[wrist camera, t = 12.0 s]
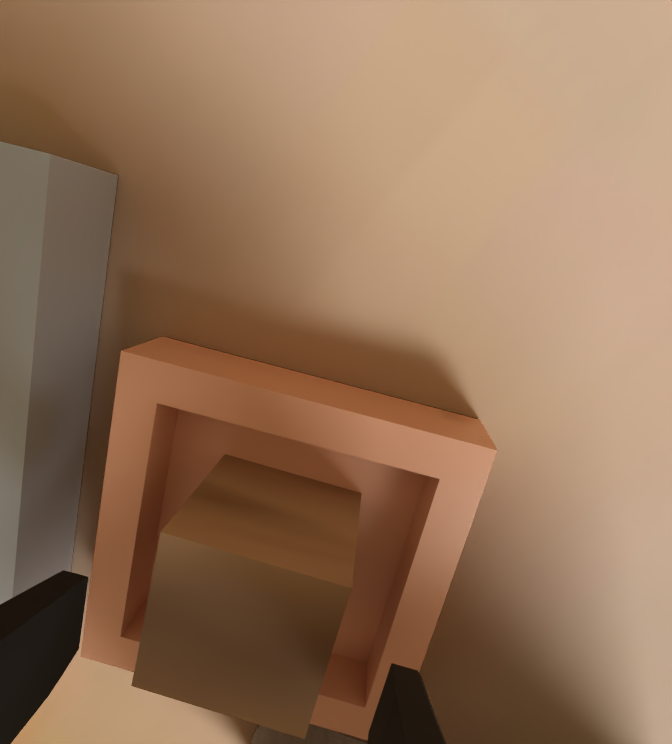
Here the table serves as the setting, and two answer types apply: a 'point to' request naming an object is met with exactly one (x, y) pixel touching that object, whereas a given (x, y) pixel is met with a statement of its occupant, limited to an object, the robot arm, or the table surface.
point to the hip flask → (317, 738)
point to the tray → (301, 457)
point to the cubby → (47, 352)
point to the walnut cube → (250, 594)
